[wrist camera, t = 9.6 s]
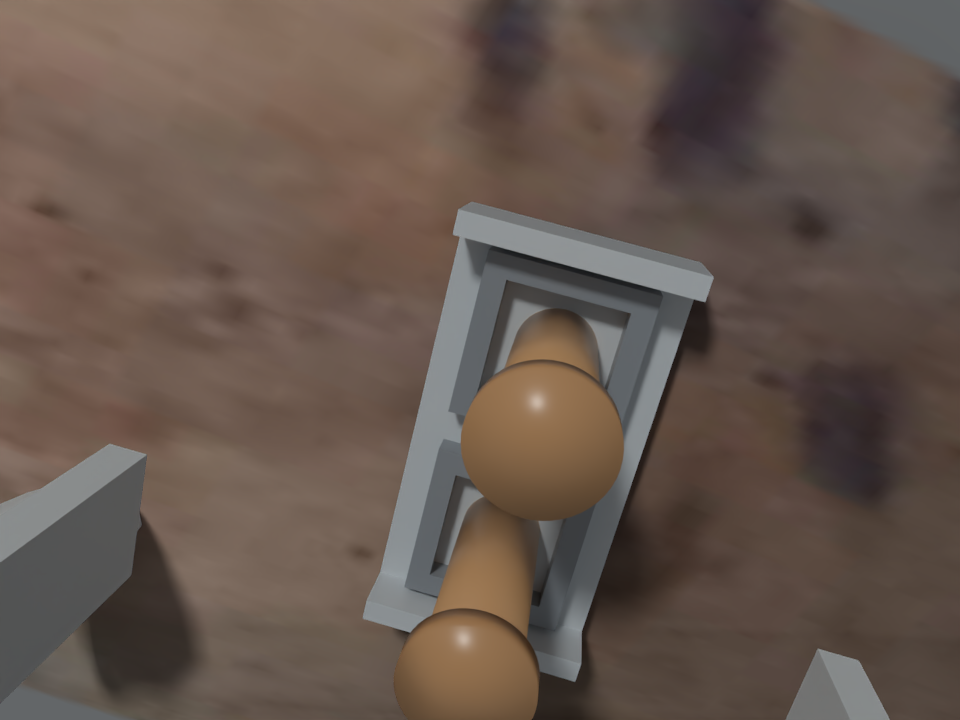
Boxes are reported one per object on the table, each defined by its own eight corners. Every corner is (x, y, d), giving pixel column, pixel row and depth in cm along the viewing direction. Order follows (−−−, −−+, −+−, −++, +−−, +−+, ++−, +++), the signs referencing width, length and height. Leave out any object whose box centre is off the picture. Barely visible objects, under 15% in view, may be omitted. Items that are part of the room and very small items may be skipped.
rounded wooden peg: (439, 558, 37) (380, 725, 27) (463, 469, 36) (410, 608, 25) (537, 587, 37) (517, 767, 26) (565, 498, 35) (555, 651, 25)
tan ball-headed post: (515, 281, 33) (482, 349, 23) (626, 311, 33) (645, 394, 22) (487, 385, 34) (444, 495, 24) (593, 415, 34) (596, 539, 24)
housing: (382, 575, 39) (362, 618, 36) (472, 201, 34) (458, 209, 30) (576, 633, 39) (575, 681, 35) (700, 262, 33) (713, 277, 30)
